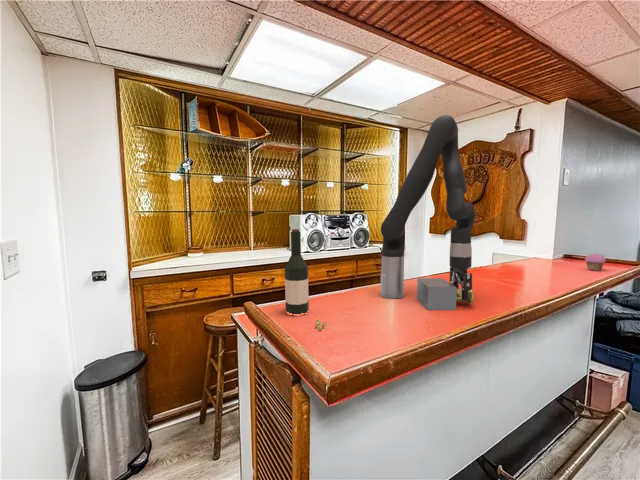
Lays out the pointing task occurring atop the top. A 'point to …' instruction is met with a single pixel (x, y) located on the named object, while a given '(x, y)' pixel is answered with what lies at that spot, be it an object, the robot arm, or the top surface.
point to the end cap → (470, 296)
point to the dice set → (319, 324)
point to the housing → (436, 294)
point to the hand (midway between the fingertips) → (459, 296)
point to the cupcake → (595, 261)
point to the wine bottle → (296, 278)
